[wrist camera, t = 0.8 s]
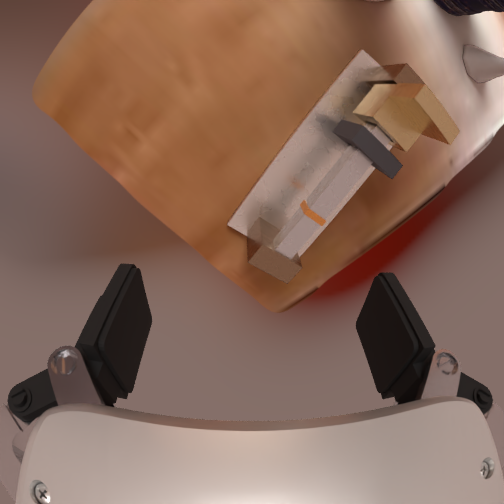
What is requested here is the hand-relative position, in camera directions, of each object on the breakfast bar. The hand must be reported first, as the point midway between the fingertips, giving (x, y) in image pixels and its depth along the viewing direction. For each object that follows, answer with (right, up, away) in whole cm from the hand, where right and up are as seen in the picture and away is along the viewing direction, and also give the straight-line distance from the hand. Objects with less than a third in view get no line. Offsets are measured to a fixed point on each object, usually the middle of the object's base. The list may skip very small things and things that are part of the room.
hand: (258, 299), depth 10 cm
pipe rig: (+10, +14, +24) cm, 29 cm away
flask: (+37, +33, +13) cm, 51 cm away
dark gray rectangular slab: (+12, +15, +19) cm, 27 cm away
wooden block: (+15, +18, +16) cm, 29 cm away
